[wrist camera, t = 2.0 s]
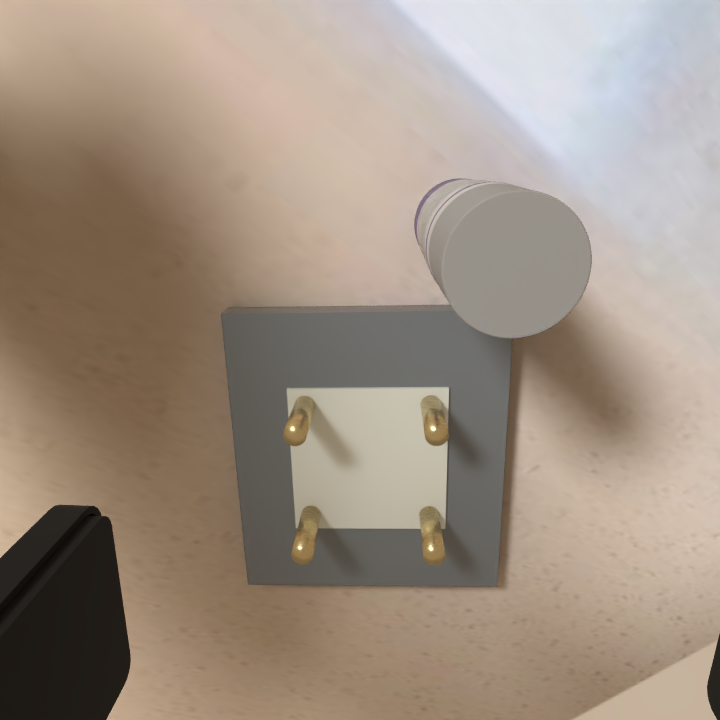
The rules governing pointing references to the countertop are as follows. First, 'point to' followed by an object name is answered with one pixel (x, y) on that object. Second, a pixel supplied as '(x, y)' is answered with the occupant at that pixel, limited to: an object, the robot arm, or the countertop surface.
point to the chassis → (368, 442)
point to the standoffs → (311, 515)
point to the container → (503, 255)
